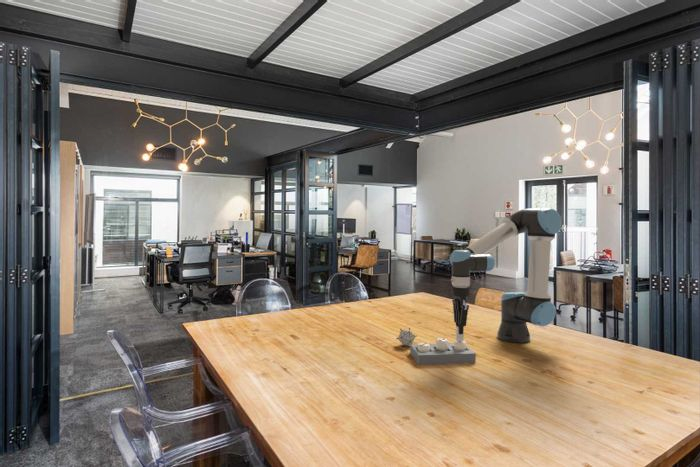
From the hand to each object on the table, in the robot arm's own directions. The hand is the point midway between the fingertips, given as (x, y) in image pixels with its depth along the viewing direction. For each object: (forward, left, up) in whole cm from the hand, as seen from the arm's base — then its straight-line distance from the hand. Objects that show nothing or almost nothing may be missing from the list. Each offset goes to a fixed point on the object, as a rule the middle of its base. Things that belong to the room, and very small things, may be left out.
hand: (459, 340), depth 172 cm
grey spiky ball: (+19, -18, -8) cm, 27 cm away
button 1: (0, 0, -5) cm, 5 cm away
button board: (+8, 0, -7) cm, 11 cm away
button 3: (+16, 0, -6) cm, 17 cm away
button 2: (+8, 0, -4) cm, 9 cm away
